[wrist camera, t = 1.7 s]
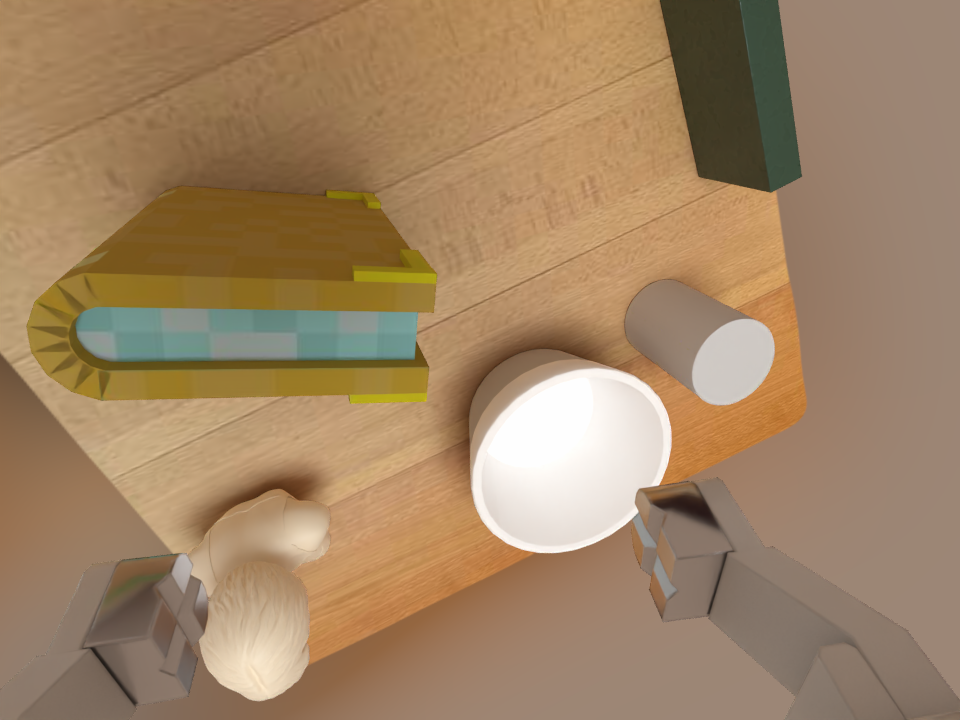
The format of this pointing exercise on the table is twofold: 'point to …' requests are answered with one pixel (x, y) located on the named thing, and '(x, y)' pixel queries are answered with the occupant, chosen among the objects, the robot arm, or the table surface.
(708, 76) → the dark green rectangular block
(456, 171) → the table surface
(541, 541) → the bowl
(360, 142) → the table surface
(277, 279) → the book
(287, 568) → the figurine
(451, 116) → the table surface
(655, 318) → the gray cylinder
